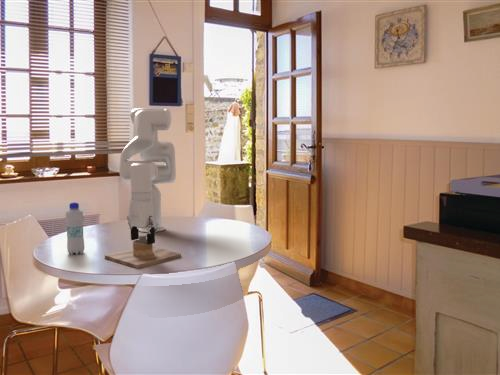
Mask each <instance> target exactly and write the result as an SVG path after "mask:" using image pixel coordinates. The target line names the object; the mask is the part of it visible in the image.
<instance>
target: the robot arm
mask: <svg viewBox="0 0 500 375" xmlns="http://www.w3.org/2000/svg"><path fill="white" fill-rule="evenodd" d="M130 120H131V122H132V124H133V135H132V140H130V142H128V143H127V144H126V145H125V147H124V148H123V150H122V151H121V153H120V156H119V157H120V158H119V169H118V170H119V176H120V179H122V181H130V198H131V199H130V201H129V207H128V216H127V217H126V219H127V224H128V227H129V230H130V240H131V241H136V240H139V236H140V235H139V232H141V233H147V234H146V239H147V244H155V243H156V240H155V239H156V237H155V235H156V233H157V232H162V231H164V230H166V227H165V225H162V196H161V195H162V194H161V191H160V189H159V188H158V187H157V185H160V184H161V185H162V184H165V185H166V184H173V183H174V182H175V181H176V176H177V175H176V174H177V173H176V171H177V170H176V150H175V146H174V143H172V142H171V141H167V140H166V141H164V140H163V141H159V131H168V130H170V127H171V124H172V114H171V110H170V109H168V108H163V107H162V108H159V107H157V108H156V107H153V108H152V107H140V108H139V107H137V108H133V109H132V110H131V111H130ZM136 155H139V156H140V160H130V159H131V158H132V157H133V156H136Z"/></svg>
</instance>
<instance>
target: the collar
mask: <svg viewBox="0 0 500 375" xmlns="http://www.w3.org/2000/svg"><path fill="white" fill-rule="evenodd" d="M153 244H154V243H153ZM153 244H147V238H146V243H139V239H136V240H133V242H132V249H133V256H136V257H147V256H151V255H152V254H153V247H154V246H153Z"/></svg>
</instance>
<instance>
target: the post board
mask: <svg viewBox="0 0 500 375" xmlns="http://www.w3.org/2000/svg"><path fill="white" fill-rule="evenodd" d="M146 239H147V235H139V239H138V240H139V243H146ZM181 257H182V253H179V252H175V251H172V250H168V249H163V248H160V247H156V246H153V254H152V255H151V256H147V257H136V256H133V248H131V249H126V250H122V251H117V252H112V253H108V254H106V255H104V259H105V260H108V261H113V262H116V263H118V264H120V265H121V264H122V265H125V266H128V267H131V268H135V269H137V270H138V269H141V268H145V267H148V266H152V265H156V264H160V263H163V262H166V261H170V260H174V259H178V258H181Z"/></svg>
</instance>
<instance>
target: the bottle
mask: <svg viewBox="0 0 500 375" xmlns="http://www.w3.org/2000/svg"><path fill="white" fill-rule="evenodd" d="M64 218H65V224H66V237H67V244H66V249H67V250H66V251H67V254H69V255H74V253H75V255H77V256H78V255H79V254H80V255H81V254H83V253H84V251H85V240H84V239H85V238H84V220H85V219H84V212H83V210H82V209H80V204H79V203H78V202H71V203H69V209H68V210H66V212H65V217H64Z"/></svg>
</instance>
